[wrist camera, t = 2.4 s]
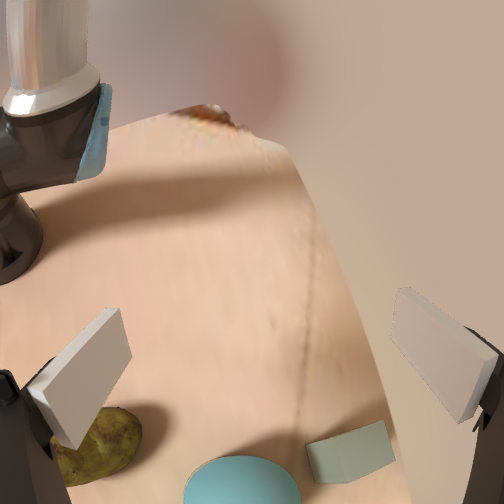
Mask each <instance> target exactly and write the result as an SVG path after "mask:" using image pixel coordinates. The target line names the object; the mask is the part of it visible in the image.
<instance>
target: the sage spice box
mask: <svg viewBox="0 0 504 504" xmlns="http://www.w3.org/2000/svg"><path fill="white" fill-rule="evenodd" d="M305 446H306V450H307V454H308V458H309V462H310V466H311V469H312V473H313V477H314V481H315V483H334V484H347V483H349V482H352V481H354V480H356V479H359V478H361V477H363V476H365V475H368V474H370V473H372V472H374V471H376V470H378V469H380V468H382V467H384V466H386V465H388V464H390V463H392V462H394V461H396V460H395V457H394V453H393V450H392V446H391V443H390V439H389V436H388V433H387V429H386V426H385V423H384V420H380V421H377V422H375V423H372V424H369V425H366V426H363V427H360V428H357V429H354V430H350V431H348V432H345V433H342V434H339V435H336V436H333V437H330V438H327V439H323V440H320V441H317V442H313V443H310V444H306V445H305Z"/></svg>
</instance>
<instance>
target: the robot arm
mask: <svg viewBox="0 0 504 504" xmlns="http://www.w3.org/2000/svg"><path fill="white" fill-rule="evenodd" d="M89 7H90V0H7V15H6V16H7V44H8V56H9V65H10V73H11V80H12V86H11V88H10V89H9V91H8V93H7V94H6V96H5V98H4V100H3V106H2V107H0V285H1V284H4V283H7V282H9V281H11V280H13V279H14V278H16V277H17V276H19V275H20V274H21V273H22V272H24V271H25V270H26V269H27V268H28V266H29V265H30V264H31V263H32V262H33V260H34V259H35V257H36V255H37V254H38V252H39V249H40V247H41V244H42V239H43V231H42V227H41V224H40V222H39V219H38V217H37V215H36V213H35V212H34V211H33V210H32V209H31V208H30V207H29V206H28V204H27V203H26V202H25V200H24V199H23V197H22V196H21V195H20V193H22V192H27V191H32V190H37V189H42V188H47V187H52V186H58V185H63V184H69V183H72V184H74V183H76V182H77V181H80V180H85V179H89V178H93V177H96V176H98V175H99V174H100V173H101V172H102V171H103V169H104V167H105V163H106V154H107V143H108V131H109V117H110V110H111V100H112V86H111V85H109V84H105V83H101V84H100V73H99V70H98V69H97V68H96V67H95V66H93V65H92V64H90V63H89V62H87V33H88V18H89ZM391 340H392V341H393V343H394V344H395V345H396V346H397V347H398V349H399V350H400V351H401V352H402V354H403V355H404V356H405V357H406V358H407V360H408V361H409V362H410V363H411V365H412V366H413V367H414V368H415V369H416V371H417V372H418V373H419V374H420V376H421V377H422V378H423V379H424V381H425V382H426V383H427V385H428V386H429V387H430V388H431V390H432V391H433V392H434V393H435V395H436V396H437V397H438V398H439V400H440V401H441V402H442V404H443V405H444V406H445V408H446V409H447V410H448V412H449V413H450V414H451V416H452V417H453V418H454V420H455V421H456V422H457V424H459V423H461V422H463V421H465V420H468V419H470V418H472V417H473V415H474V413H475V411H476V409H477V407H478V405H480V406H481V407H482V409H483V411H482V413H481V415H480V417H479V419H478V421H477V423H476V425H475V426H474V428H473V432H475V430H476V429H477V427H478V426H479V429H478V437H477V443H476V449H475V455H474V460H473V465H472V470H471V474H470V478H469V483H468V486H467V490H466V494H465V497H464V500H463V504H504V354H503V353H502V352H500V351H499V350H498V349H497V348H495V347H494V346H493V345H492V344H490V343H489V342H486V340H485V339H484V338H483V337H480V335H479V334H478V333H476V332H475V331H474V330H472V329H470V328H467V327H465V326H462V325H461V324H460V323H458V322H457V321H456V320H454V319H453V318H452V317H450V316H449V315H448V314H446V313H445V312H444V311H442V310H441V309H439V308H438V307H437V306H435V305H434V304H433V303H431V302H430V301H429V300H427V299H426V298H425V297H423V296H422V295H420V294H419V293H418V292H416V291H415V290H413V289H412V288H411V287H407V288H400V289H397V294H396V303H395V311H394V319H393V326H392V333H391ZM131 358H132V354H131V351H130V347H129V344H128V340H127V336H126V333H125V329H124V325H123V321H122V317H121V313H120V309H119V308H106V309H105V310H103V311H102V312H101V313H100V314H99V315H98V316H97V317H96V318H95V319H94V320H93V321H92V322H91V323H90V324H89V325H88V326H87V327H86V328H85V329H84V330H82V331H81V332H80V333H79V334H78V335H77V336H76V337H75V338H74V339H73V340H72V341H71V342H70V343H69V344H68V345H67V346H66V347H65V348H64V349H63V350H62V351H61V352H60V353H59V354H58V355H57V356H56V357H54V358H52V359H50V360H49V361H48V362H47V363H46V364H45V365H44V366H43V368H41V369H40V370H39V371H38V374H35V375H34V376H33V378H32V379H31V380H30V381H29V382H28V383H27V384H26V385H25V386H24V387H23V388H22V389H21V390H20V389H19V387H18V385H17V383H16V381H15V379H14V377H13V375H12V373H11V372H10V371H9V370H4V369H3V370H0V504H72V503H71V500H70V498H69V495H68V492H67V489H66V486H65V483H64V480H63V477H62V474H61V471H60V467H59V464H58V460H57V456H56V452H55V448H54V446H53V444H52V442H51V441H50V440H51V438H52V437H53V435H54V436H55V437H56V439H57V440H58V442H59V443H60V445H61V446H64V447H68V448H71V449H74V450H77V449H78V448H79V446H80V444H81V442H82V440H83V439H84V437H85V435H86V433H87V432H88V430H89V428H90V426H91V425H92V423H93V421H94V419H95V418H96V416H97V414H98V413H99V411H100V409H101V407H102V406H103V404H104V402H105V401H106V399H107V397H108V396H109V394H110V392H111V391H112V389H113V387H114V386H115V384H116V383H117V381H118V379H119V378H120V376H121V374H122V373H123V371H124V370H125V368H126V366H127V365H128V363H129V362H130V360H131Z"/></svg>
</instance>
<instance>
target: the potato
mask: <svg viewBox="0 0 504 504" xmlns="http://www.w3.org/2000/svg"><path fill="white" fill-rule="evenodd" d="M141 438H142V429H141V424H140V422H139V420H138V419H137V418H136V417H135V416H134V415H133V414H131V413H129V412H128V411H126V410H124V409H121V408H119V407H117V408H115V407H102V408H101V409H100V411H99V413H98V414H97V416H96V418H95V419H94V421H93V423H92V425H91V426H90V428H89V430H88V432H87V433H86V435H85V437H84V439H83V440H82V442H81V444H80V446H79V448H78V449H77V450H74V449H71V448H68V447H64V446H61V445H60V443H59V442H58V440H57V439H56V437H55V436H54V435H53V437H52V438H51V440H50V441H51V442H52V444H53V446H54V448H55V452H56V456H57V460H58V464H59V467H60V471H61V474H62V477H63V480H64V483H65V486H66V487H72V486H78V485H83V484H87V483H90V482H93V481H95V480H98V479H100V478H104V477H107V476H109V475H111V474H113V473H115V472H117V471H118V470H120V469H122V468H123V467H124V466H125V465H126V464H128V462H129V461H130V460H131V459H132V458H133V456H134V454H135V452H136V449H137V447H138V445H139V442H140V440H141Z"/></svg>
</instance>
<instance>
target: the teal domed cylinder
mask: <svg viewBox="0 0 504 504" xmlns="http://www.w3.org/2000/svg"><path fill="white" fill-rule="evenodd" d="M184 504H301V494H300V490H299V487H298V485H297V483H296V481H295V480H294V479H293V477H292V476H291V475H290V474H289V473H288V472H287V471H286V470H285V469H284V468H282V467H281V466H279V465H278V464H276V463H274V462H272V461H270V460H267V459H264V458H260V457H256V456H229V457H221V458H216V459H213V460H210V461H208V462H206V463H204V464H203V465H201V466H200V467H198V468H197V469H196V470H195V471H194V472H193V473H192V474H191V476H190V477H189V479H188V481H187V483H186V485H185V489H184Z"/></svg>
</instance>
